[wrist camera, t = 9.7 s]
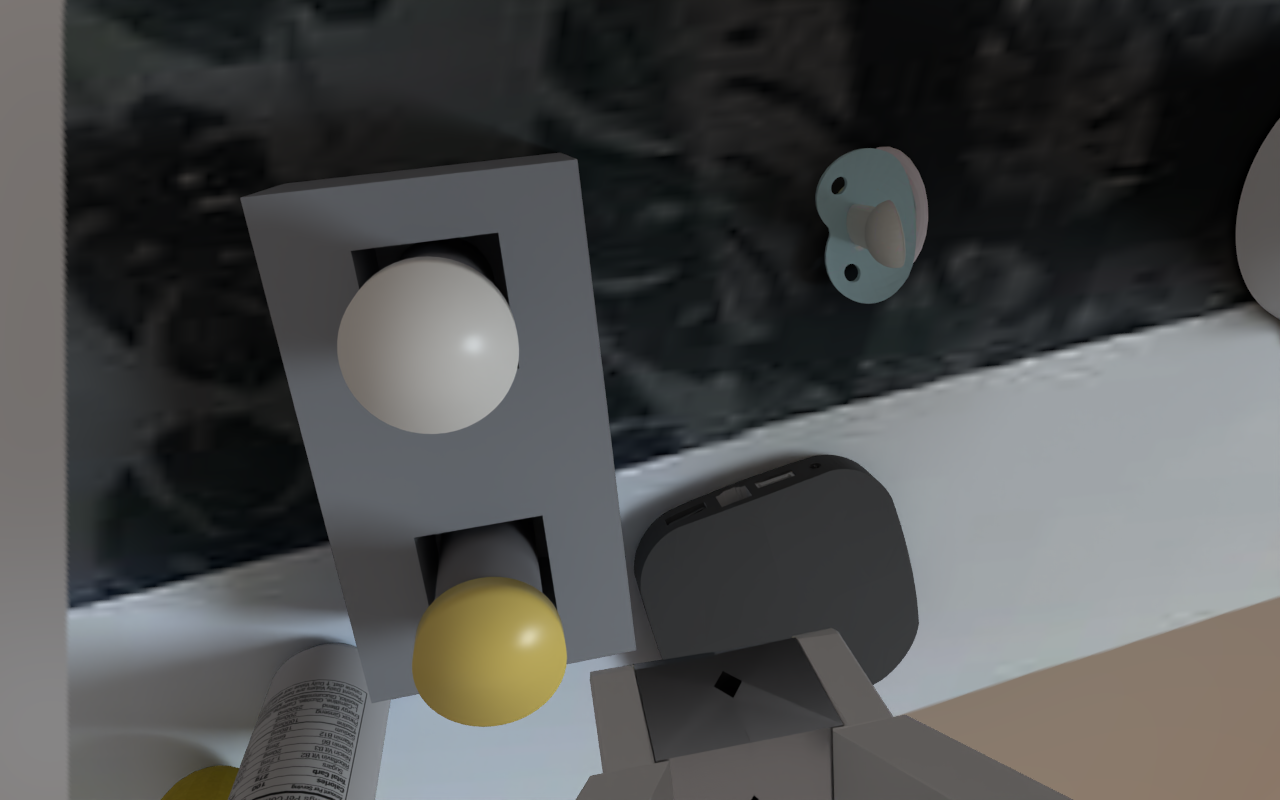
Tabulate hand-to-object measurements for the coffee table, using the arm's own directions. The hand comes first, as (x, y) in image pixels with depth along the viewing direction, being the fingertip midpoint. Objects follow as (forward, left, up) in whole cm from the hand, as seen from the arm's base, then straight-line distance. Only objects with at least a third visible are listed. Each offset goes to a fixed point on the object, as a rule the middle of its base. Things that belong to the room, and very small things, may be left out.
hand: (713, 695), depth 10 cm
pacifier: (-16, 0, -31) cm, 35 cm away
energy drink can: (+14, +20, -31) cm, 40 cm away
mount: (+4, +6, -31) cm, 32 cm away
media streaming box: (-11, +20, -31) cm, 39 cm away
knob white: (+4, 0, -29) cm, 30 cm away
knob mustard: (+4, +12, -29) cm, 32 cm away
